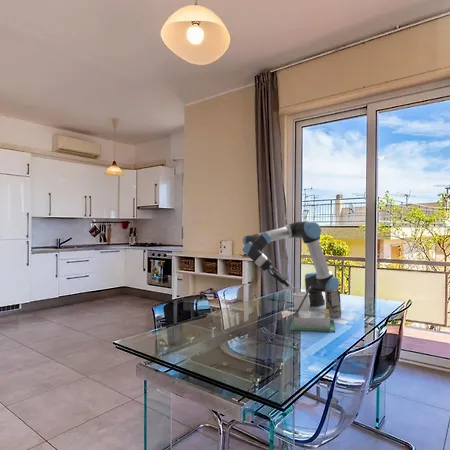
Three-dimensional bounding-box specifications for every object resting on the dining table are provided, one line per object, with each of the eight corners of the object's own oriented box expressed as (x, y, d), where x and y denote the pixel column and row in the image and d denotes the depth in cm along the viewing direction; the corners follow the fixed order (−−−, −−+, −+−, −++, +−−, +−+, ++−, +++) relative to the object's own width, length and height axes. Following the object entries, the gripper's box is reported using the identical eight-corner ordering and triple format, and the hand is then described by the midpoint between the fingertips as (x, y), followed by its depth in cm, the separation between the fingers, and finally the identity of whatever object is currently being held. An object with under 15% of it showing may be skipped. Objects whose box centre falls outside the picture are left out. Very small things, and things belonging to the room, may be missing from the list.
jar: (311, 314, 234) (310, 291, 233) (309, 318, 224) (308, 295, 224) (295, 313, 237) (294, 291, 237) (293, 317, 227) (291, 295, 227)
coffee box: (341, 316, 224) (340, 291, 224) (332, 317, 223) (330, 292, 223) (334, 312, 233) (333, 288, 233) (325, 313, 232) (324, 289, 232)
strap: (296, 315, 208) (295, 314, 208) (297, 312, 213) (295, 312, 213) (311, 288, 205) (309, 287, 206) (311, 286, 210) (309, 285, 210)
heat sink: (290, 331, 202) (289, 315, 202) (292, 320, 221) (291, 306, 221) (335, 332, 195) (334, 315, 195) (334, 321, 215) (333, 306, 214)
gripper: (261, 265, 222) (289, 291, 218) (257, 268, 209) (287, 296, 205) (269, 256, 220) (297, 283, 216) (266, 259, 208) (296, 287, 204)
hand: (292, 289), depth 211 cm, fingers closed
